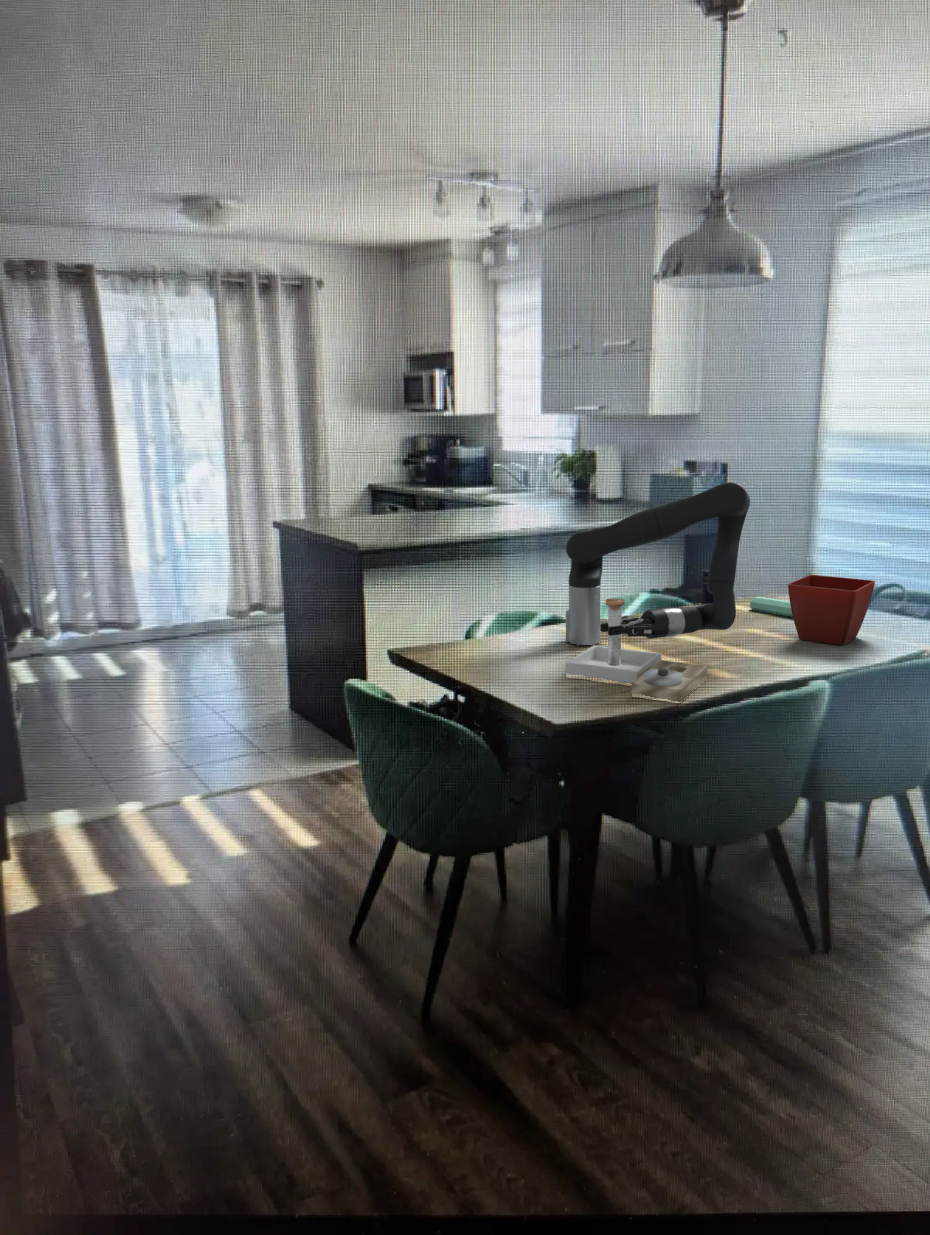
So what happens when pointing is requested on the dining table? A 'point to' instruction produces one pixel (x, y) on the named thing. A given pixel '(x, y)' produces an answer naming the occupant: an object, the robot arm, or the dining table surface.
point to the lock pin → (614, 620)
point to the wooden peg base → (670, 680)
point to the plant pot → (829, 607)
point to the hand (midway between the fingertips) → (605, 629)
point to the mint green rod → (771, 606)
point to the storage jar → (707, 596)
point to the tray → (597, 666)
